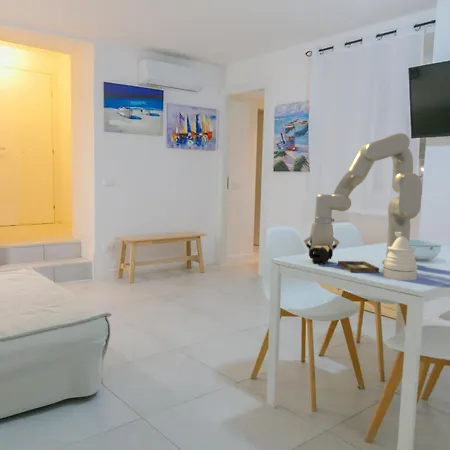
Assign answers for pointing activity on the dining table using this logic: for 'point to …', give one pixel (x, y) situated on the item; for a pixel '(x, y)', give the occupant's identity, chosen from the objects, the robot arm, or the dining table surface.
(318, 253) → the end cap
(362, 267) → the pocket tray
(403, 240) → the honey pot
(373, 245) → the dining table surface
